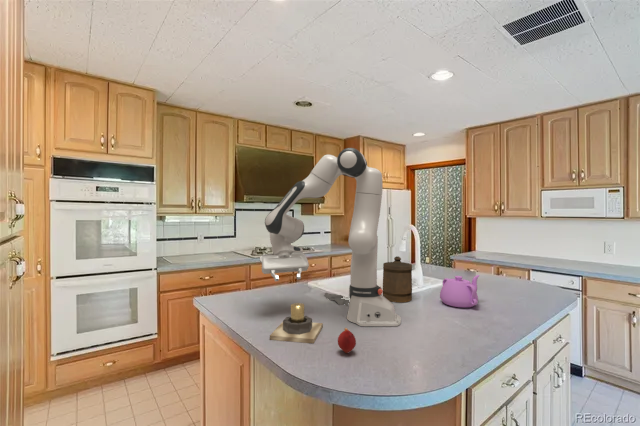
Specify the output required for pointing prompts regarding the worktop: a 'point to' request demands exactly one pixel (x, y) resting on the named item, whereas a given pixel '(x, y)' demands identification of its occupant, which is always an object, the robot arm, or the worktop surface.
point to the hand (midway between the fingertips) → (288, 279)
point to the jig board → (297, 331)
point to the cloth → (337, 298)
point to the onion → (346, 341)
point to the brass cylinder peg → (297, 313)
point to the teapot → (459, 292)
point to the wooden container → (397, 281)
